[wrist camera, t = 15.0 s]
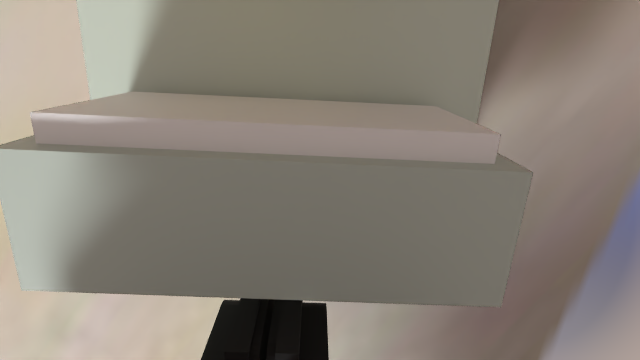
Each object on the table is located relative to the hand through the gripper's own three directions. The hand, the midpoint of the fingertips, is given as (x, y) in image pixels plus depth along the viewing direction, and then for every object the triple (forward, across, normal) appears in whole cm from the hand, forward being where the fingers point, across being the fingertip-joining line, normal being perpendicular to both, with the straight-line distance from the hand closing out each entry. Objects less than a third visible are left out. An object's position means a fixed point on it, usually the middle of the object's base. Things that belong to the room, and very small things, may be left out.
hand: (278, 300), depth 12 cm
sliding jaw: (+1, 0, -5) cm, 5 cm away
